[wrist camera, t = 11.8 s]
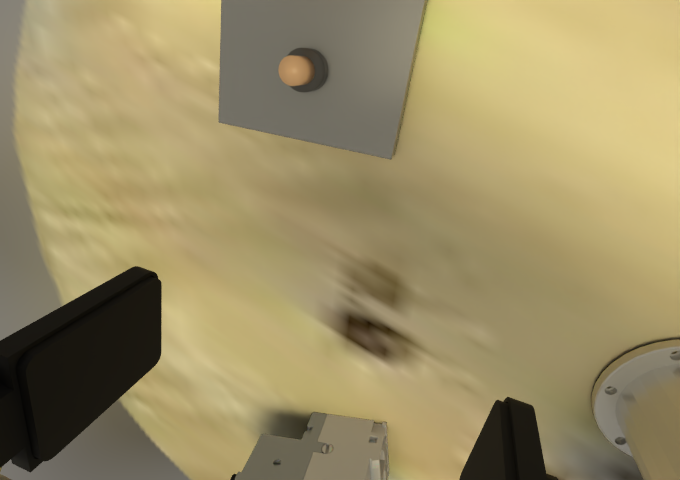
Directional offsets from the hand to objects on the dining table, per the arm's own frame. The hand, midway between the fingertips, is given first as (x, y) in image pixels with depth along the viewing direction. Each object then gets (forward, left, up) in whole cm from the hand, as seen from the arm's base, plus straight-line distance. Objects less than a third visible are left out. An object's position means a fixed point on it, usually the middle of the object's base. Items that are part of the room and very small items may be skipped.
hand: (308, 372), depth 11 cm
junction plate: (+8, -11, -24) cm, 27 cm away
